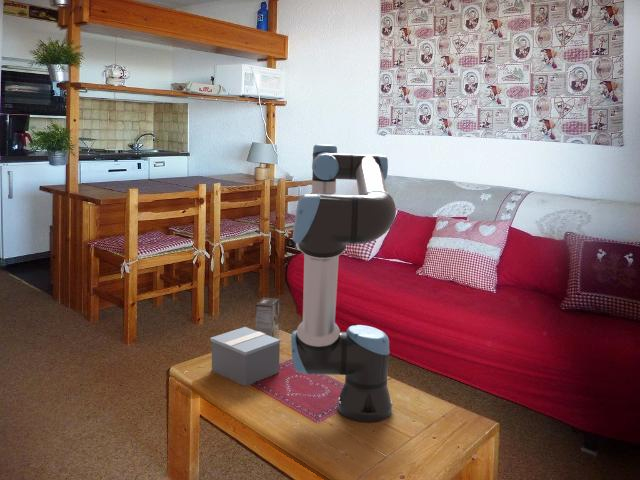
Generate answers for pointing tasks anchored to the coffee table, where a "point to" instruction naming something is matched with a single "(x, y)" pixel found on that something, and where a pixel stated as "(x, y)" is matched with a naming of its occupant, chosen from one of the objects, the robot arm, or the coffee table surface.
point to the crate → (245, 363)
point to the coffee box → (268, 317)
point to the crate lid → (245, 340)
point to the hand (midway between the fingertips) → (320, 266)
